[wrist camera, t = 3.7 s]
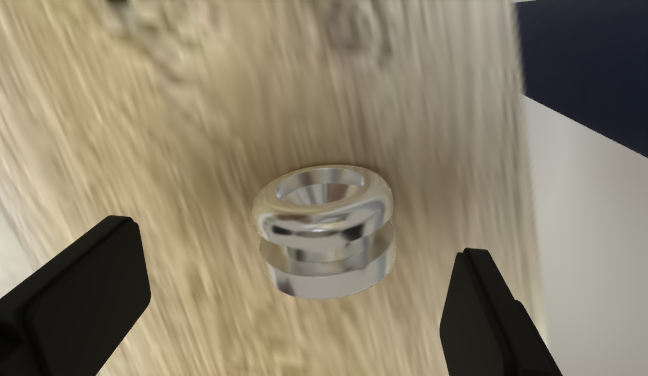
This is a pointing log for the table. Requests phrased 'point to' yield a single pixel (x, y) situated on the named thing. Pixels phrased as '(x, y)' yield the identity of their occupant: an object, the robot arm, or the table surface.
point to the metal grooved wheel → (325, 231)
